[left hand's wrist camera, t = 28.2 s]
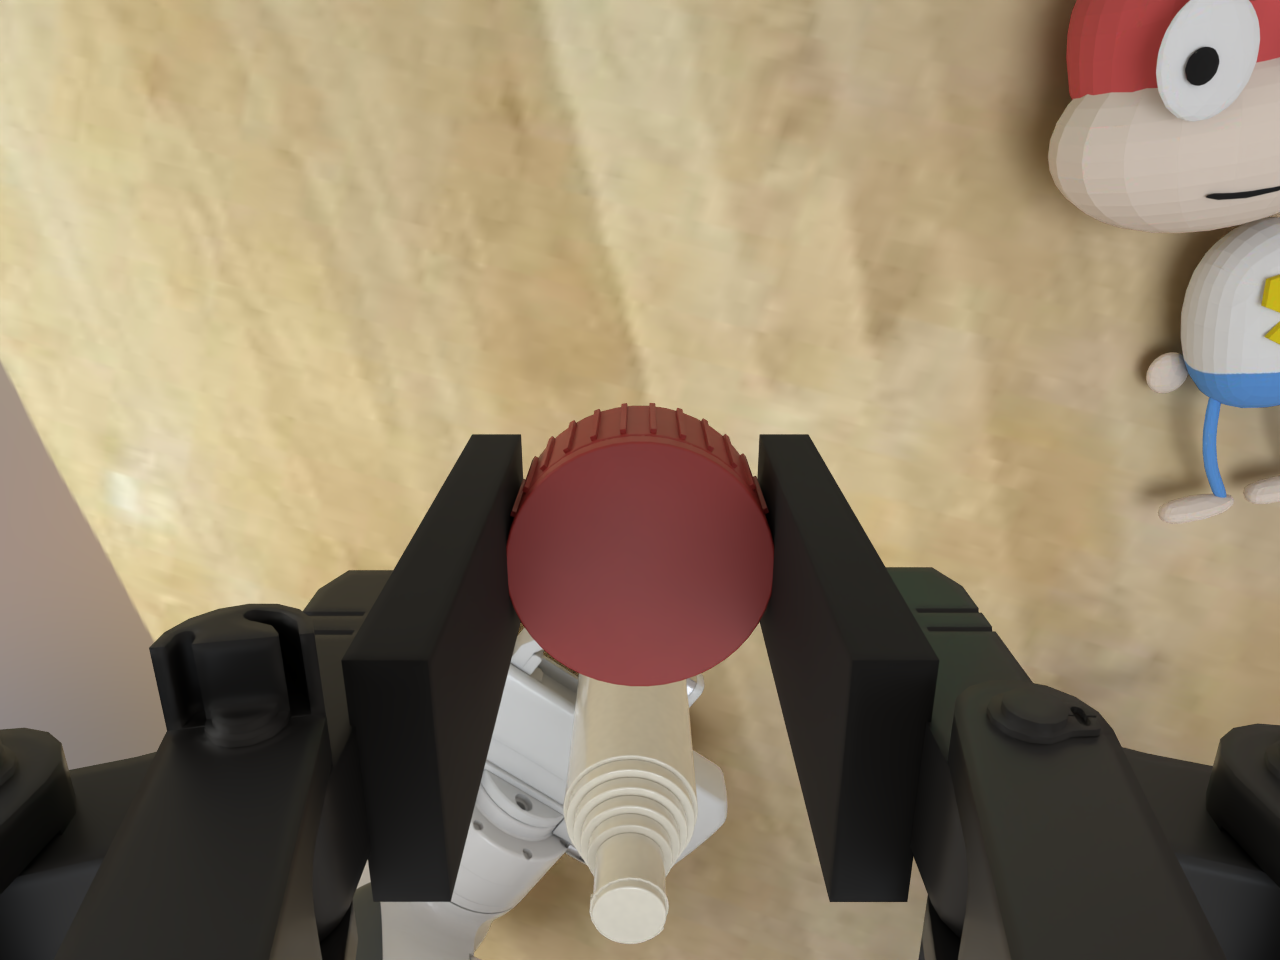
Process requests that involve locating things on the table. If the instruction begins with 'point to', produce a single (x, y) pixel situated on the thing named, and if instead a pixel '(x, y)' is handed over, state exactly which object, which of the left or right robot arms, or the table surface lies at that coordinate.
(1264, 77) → the toy
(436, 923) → the right robot arm
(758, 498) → the cap
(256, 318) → the table surface
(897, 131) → the table surface
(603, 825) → the bottle
